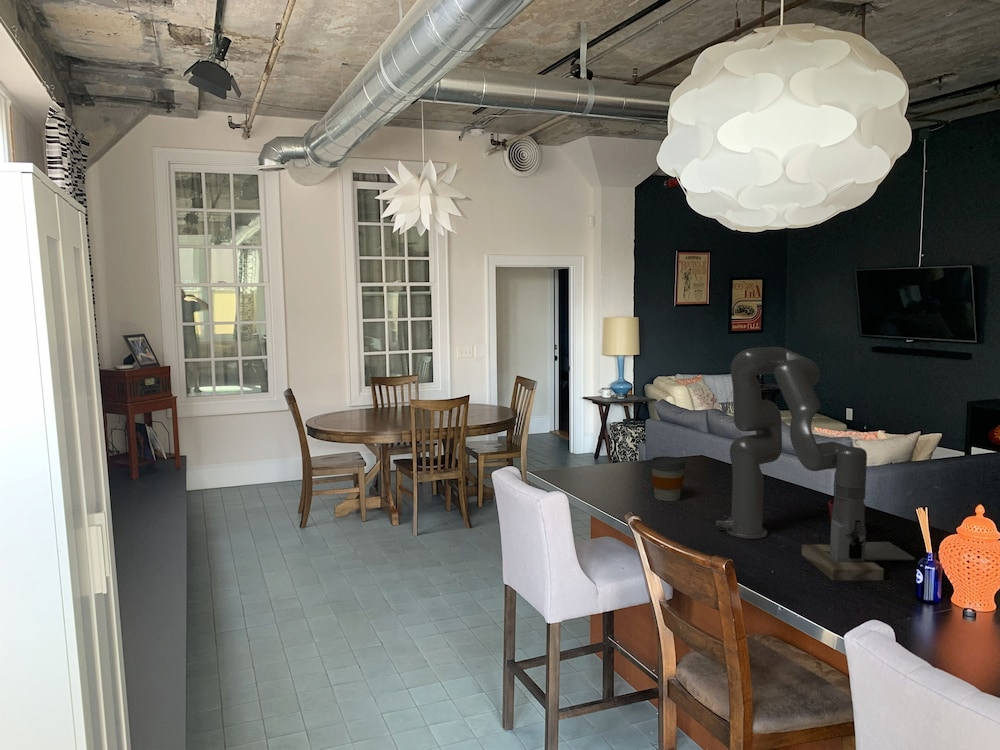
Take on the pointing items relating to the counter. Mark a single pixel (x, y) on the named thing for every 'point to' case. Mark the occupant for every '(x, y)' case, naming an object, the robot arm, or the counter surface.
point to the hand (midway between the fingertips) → (847, 552)
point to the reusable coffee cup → (667, 477)
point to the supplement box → (843, 544)
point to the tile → (885, 552)
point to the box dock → (840, 565)
